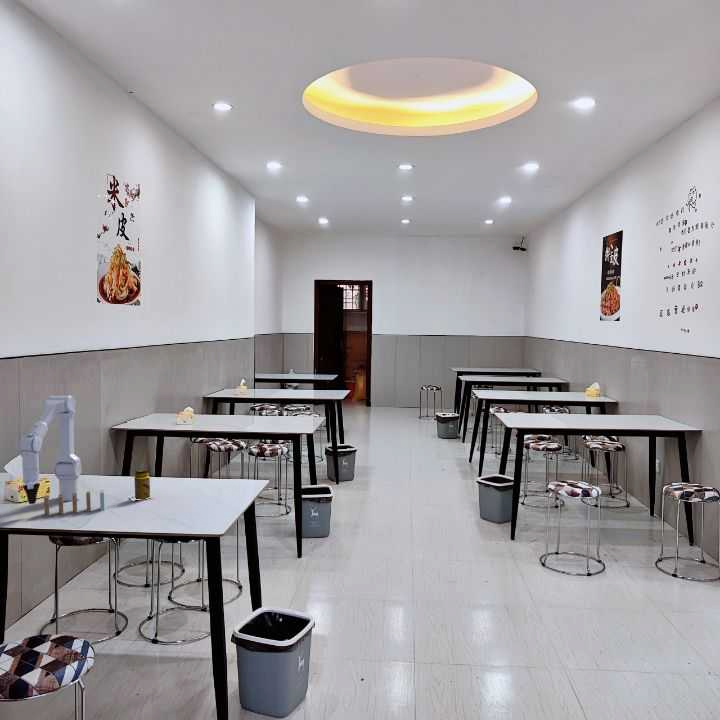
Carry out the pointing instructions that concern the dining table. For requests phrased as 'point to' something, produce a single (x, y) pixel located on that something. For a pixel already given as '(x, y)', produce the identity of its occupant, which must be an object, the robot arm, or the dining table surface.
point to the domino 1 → (46, 505)
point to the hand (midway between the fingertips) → (32, 503)
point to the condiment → (142, 484)
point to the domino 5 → (102, 499)
